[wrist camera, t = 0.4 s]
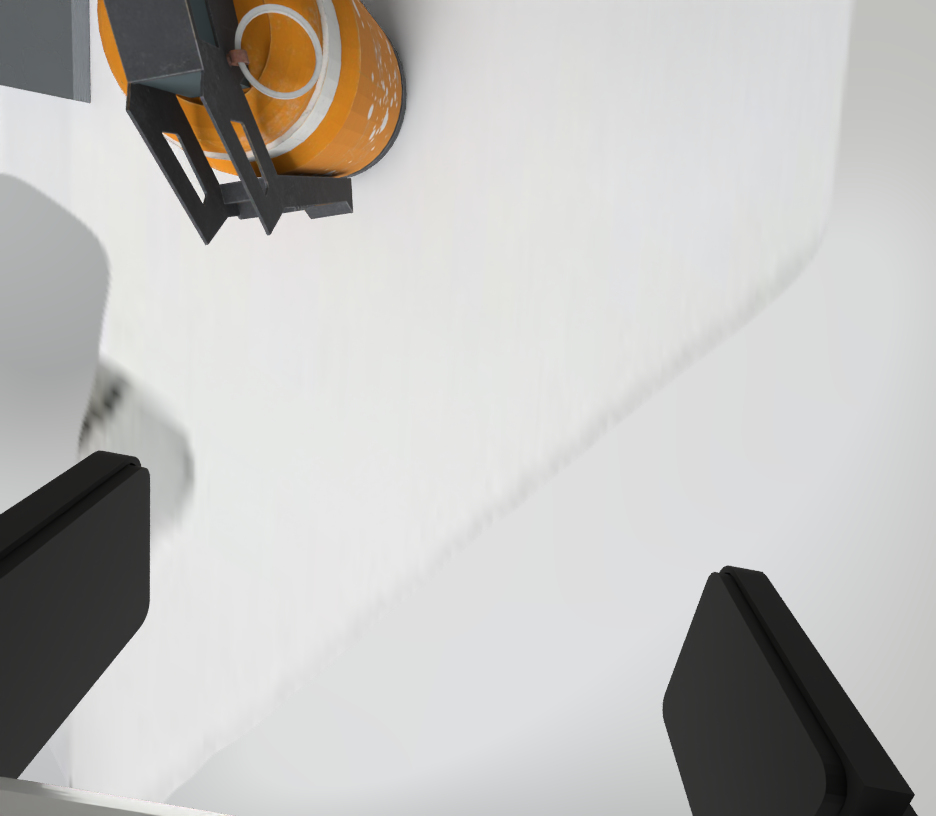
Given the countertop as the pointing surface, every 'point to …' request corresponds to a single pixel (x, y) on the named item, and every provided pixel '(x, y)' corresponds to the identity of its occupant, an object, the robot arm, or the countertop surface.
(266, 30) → the canister
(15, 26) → the grey plate with peg
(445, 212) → the countertop surface
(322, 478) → the countertop surface
